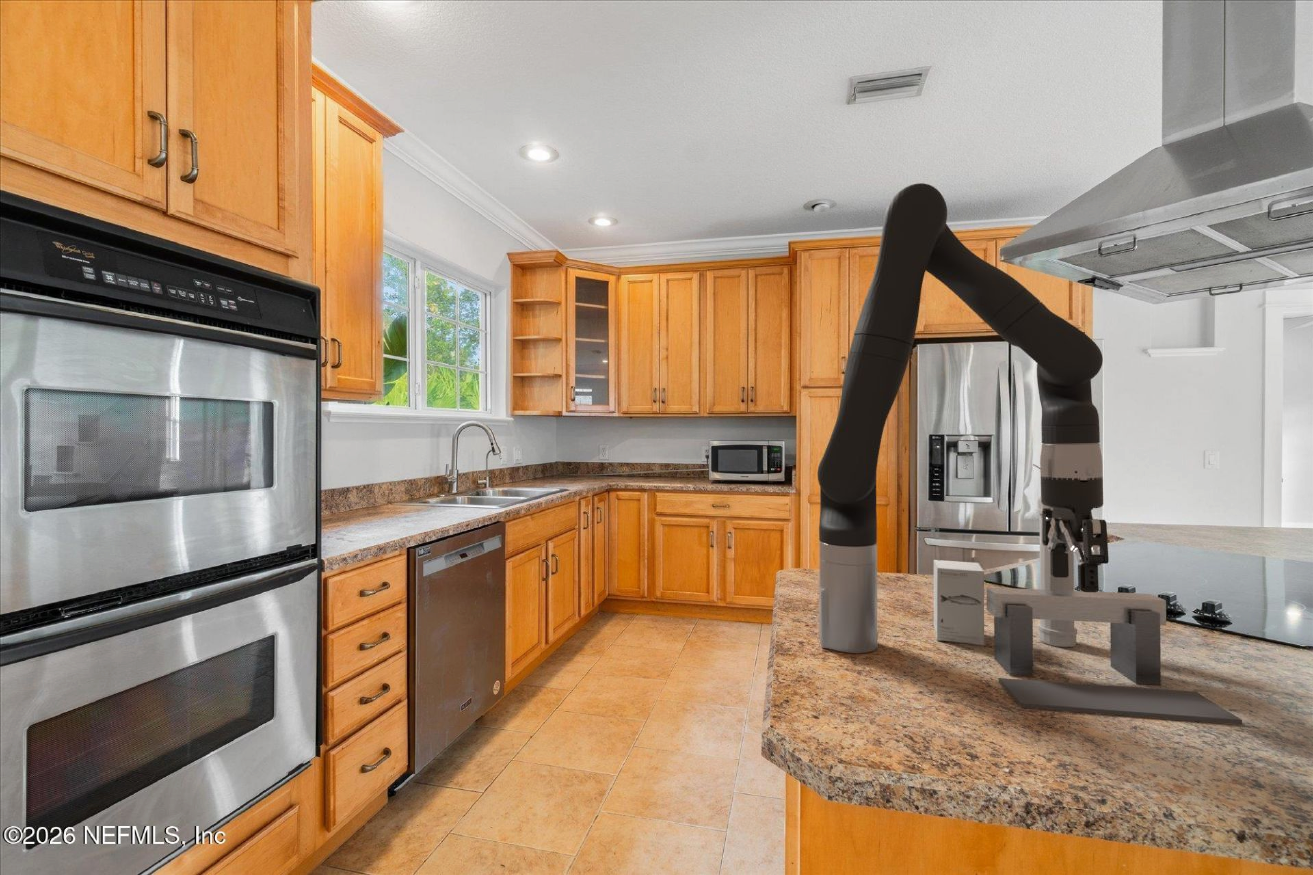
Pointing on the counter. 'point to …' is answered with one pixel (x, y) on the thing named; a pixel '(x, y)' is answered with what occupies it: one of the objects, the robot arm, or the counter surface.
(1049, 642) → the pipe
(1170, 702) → the mat
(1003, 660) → the post
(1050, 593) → the rail
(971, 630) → the supplement box
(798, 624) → the counter surface
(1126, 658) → the post
